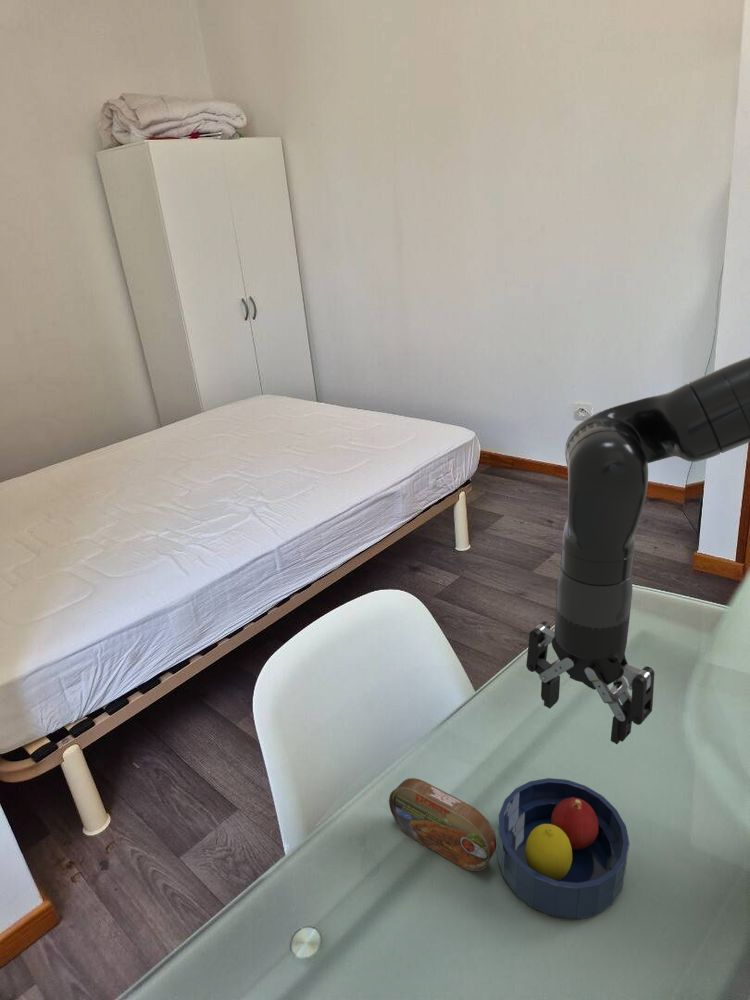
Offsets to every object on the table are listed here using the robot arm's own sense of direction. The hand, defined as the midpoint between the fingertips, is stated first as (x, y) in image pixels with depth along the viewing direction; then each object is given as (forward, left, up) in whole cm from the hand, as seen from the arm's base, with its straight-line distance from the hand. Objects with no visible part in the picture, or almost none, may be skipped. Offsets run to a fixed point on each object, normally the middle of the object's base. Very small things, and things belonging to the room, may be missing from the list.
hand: (583, 720), depth 80 cm
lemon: (0, +6, -21) cm, 22 cm away
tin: (+12, +11, -22) cm, 27 cm away
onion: (0, 0, -21) cm, 21 cm away
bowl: (0, +3, -21) cm, 22 cm away
